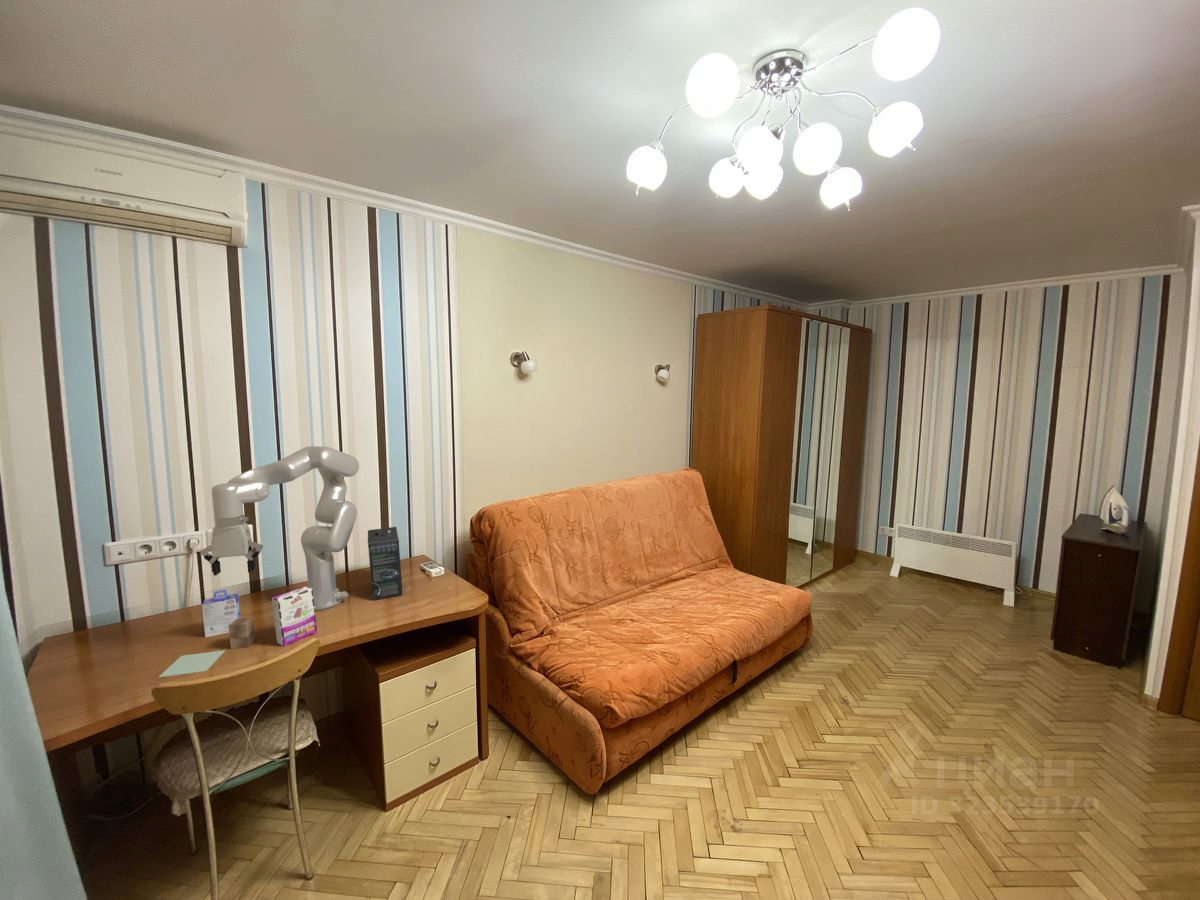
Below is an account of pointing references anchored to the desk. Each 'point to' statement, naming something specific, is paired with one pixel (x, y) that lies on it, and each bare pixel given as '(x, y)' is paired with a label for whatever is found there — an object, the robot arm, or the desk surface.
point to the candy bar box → (294, 615)
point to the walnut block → (241, 633)
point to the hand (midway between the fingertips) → (234, 572)
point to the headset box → (384, 563)
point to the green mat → (192, 663)
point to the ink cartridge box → (220, 613)
